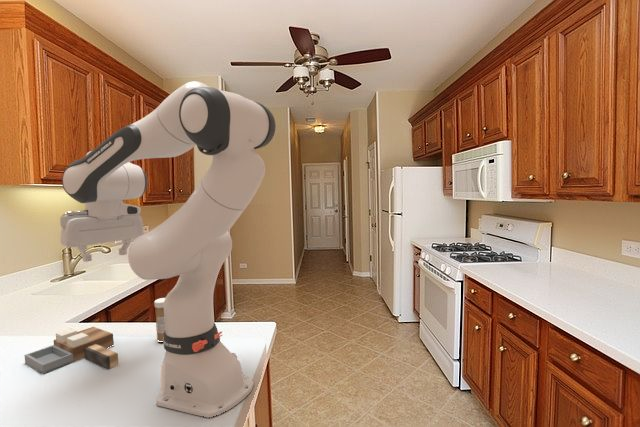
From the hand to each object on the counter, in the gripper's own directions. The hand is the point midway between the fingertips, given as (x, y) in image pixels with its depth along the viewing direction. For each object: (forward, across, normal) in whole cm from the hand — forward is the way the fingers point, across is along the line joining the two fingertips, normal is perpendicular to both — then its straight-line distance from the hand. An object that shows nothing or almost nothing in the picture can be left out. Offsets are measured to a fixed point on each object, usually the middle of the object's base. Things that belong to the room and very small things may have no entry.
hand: (105, 257), depth 93 cm
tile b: (+27, -4, +15) cm, 31 cm away
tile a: (+26, -4, +8) cm, 28 cm away
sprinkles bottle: (+29, +14, -5) cm, 33 cm away
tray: (+31, -10, +12) cm, 34 cm away
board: (+31, -1, +12) cm, 33 cm away
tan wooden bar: (+30, -3, -1) cm, 30 cm away
